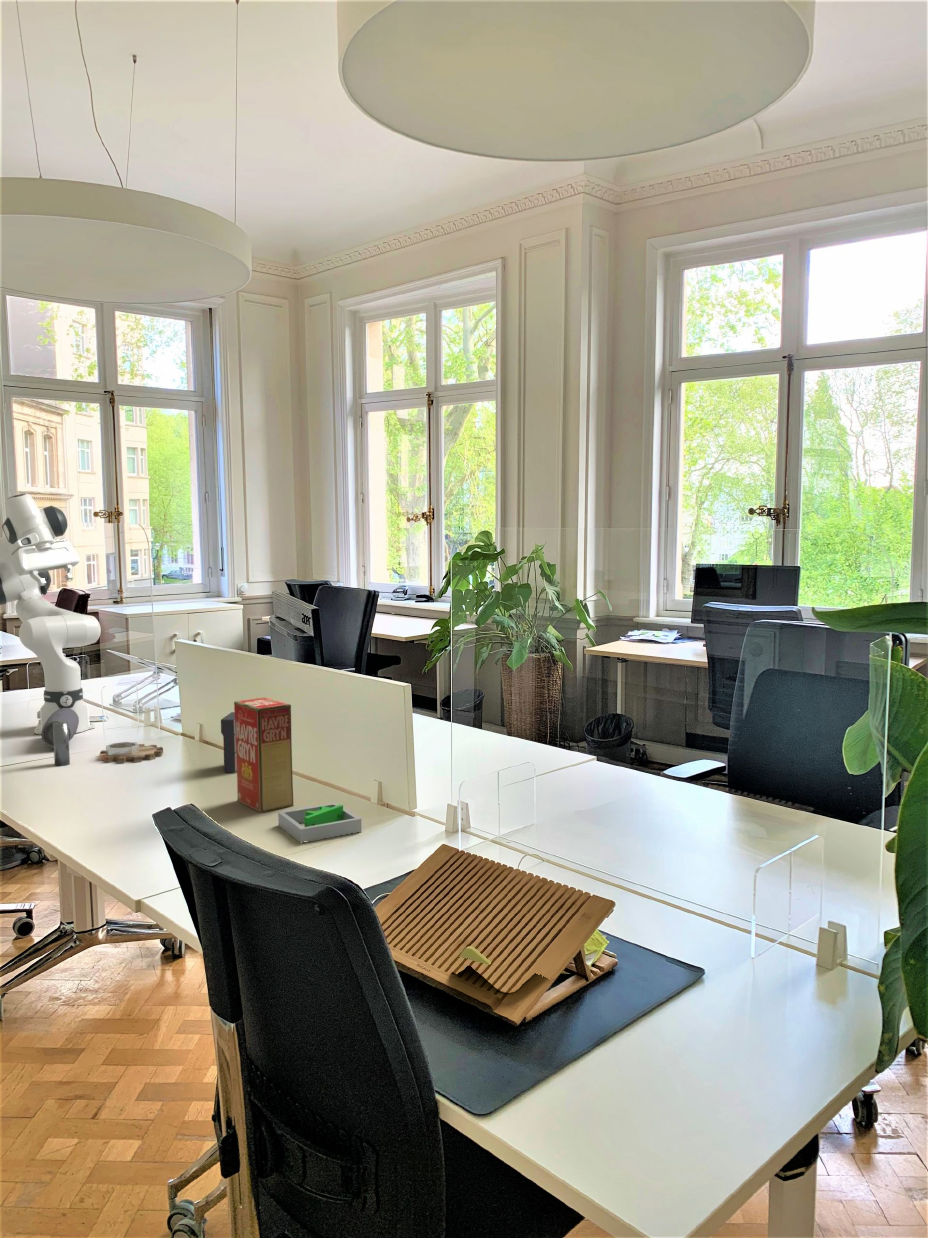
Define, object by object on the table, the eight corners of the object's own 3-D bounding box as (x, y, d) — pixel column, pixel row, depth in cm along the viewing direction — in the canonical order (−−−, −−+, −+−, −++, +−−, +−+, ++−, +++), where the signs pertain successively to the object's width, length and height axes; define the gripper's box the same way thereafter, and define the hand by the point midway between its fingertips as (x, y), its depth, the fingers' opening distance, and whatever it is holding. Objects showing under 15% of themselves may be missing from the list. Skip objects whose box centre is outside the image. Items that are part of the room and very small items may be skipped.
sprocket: (94, 753, 269) (94, 742, 269) (155, 746, 278) (155, 735, 278) (105, 766, 254) (104, 754, 254) (169, 758, 263) (169, 746, 263)
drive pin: (53, 763, 257) (52, 722, 256) (68, 762, 259) (67, 721, 258) (55, 766, 253) (53, 725, 252) (70, 765, 256) (69, 723, 254)
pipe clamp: (331, 822, 205) (331, 802, 204) (343, 825, 203) (343, 805, 202) (295, 835, 196) (295, 814, 195) (308, 838, 193) (308, 817, 193)
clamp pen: (278, 825, 202) (278, 812, 201) (336, 815, 209) (336, 802, 209) (301, 843, 190) (301, 829, 189) (361, 832, 197) (361, 818, 197)
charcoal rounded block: (237, 773, 246) (236, 719, 245) (221, 773, 247) (220, 719, 245) (247, 763, 257) (246, 711, 256) (232, 763, 257) (231, 711, 256)
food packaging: (234, 800, 220) (232, 700, 218) (269, 793, 227) (267, 696, 224) (260, 813, 210) (257, 708, 208) (295, 805, 216) (293, 703, 214)
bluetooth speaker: (50, 737, 291) (48, 706, 291) (81, 735, 294) (79, 705, 293) (39, 753, 270) (38, 720, 269) (73, 750, 273) (71, 718, 272)
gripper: (62, 542, 286) (81, 580, 285) (2, 551, 268) (21, 592, 268) (72, 533, 282) (91, 572, 281) (12, 541, 265) (31, 583, 264)
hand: (56, 582), depth 274 cm, fingers open, 8 cm apart
